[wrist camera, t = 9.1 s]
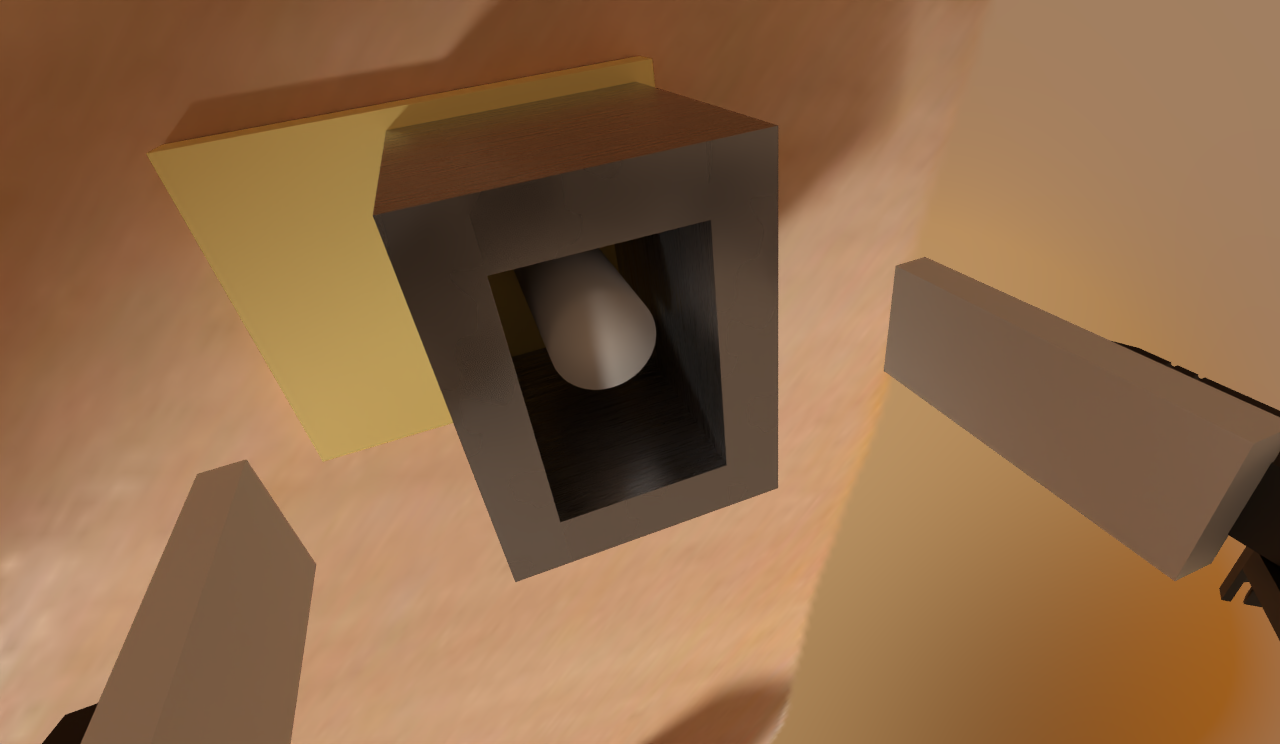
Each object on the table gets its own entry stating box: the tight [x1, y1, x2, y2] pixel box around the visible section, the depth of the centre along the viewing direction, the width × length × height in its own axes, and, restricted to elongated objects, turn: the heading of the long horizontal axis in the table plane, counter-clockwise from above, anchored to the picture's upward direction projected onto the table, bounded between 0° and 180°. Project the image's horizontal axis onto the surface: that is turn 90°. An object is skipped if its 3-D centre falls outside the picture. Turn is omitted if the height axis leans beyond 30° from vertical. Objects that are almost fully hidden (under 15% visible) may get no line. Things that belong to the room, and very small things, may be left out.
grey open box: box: [373, 82, 778, 582], centre depth 16 cm, size 9×7×8 cm
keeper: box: [146, 56, 656, 462], centre depth 16 cm, size 13×10×7 cm
